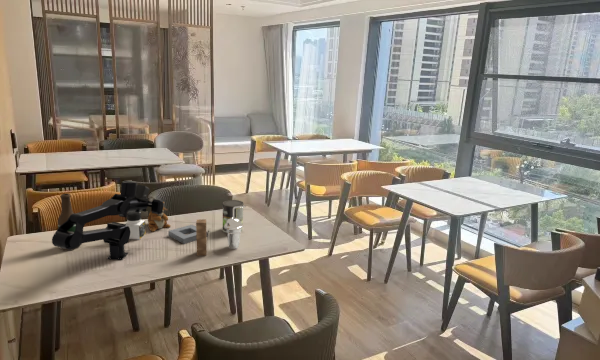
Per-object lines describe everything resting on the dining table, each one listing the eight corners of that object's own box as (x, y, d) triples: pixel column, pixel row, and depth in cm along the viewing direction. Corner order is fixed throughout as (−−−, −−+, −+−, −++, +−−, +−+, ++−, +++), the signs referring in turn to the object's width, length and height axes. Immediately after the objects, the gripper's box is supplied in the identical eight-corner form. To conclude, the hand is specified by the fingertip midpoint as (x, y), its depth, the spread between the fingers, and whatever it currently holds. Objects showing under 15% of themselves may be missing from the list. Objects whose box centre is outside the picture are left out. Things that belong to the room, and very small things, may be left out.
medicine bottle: (140, 239, 195) (138, 215, 192) (124, 239, 195) (123, 214, 192) (145, 234, 202) (144, 210, 199) (130, 233, 202) (129, 209, 199)
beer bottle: (72, 252, 179) (66, 197, 173) (56, 249, 181) (50, 195, 175) (84, 245, 187) (79, 192, 181) (69, 242, 188) (63, 191, 182)
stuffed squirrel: (152, 232, 204) (151, 206, 200) (142, 224, 214) (140, 199, 211) (172, 228, 210) (171, 203, 207) (161, 220, 220) (160, 196, 217)
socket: (183, 243, 192) (183, 238, 192) (168, 235, 201) (168, 230, 200) (207, 236, 202) (207, 231, 201) (192, 229, 210) (192, 224, 210)
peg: (196, 255, 181) (196, 222, 177) (197, 251, 185) (196, 219, 181) (206, 255, 182) (205, 222, 178) (206, 251, 186) (206, 219, 182)
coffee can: (225, 234, 205) (225, 207, 202) (220, 227, 214) (220, 200, 211) (245, 232, 210) (246, 205, 206) (239, 225, 219) (240, 199, 215)
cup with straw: (232, 241, 198) (232, 200, 192) (247, 246, 193) (248, 204, 188) (220, 247, 190) (220, 205, 185) (235, 252, 186) (236, 209, 181)
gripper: (152, 189, 178) (175, 188, 193) (117, 183, 184) (141, 183, 199) (149, 215, 179) (172, 212, 193) (114, 208, 185) (139, 206, 199)
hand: (156, 203), depth 196 cm, fingers open, 9 cm apart
